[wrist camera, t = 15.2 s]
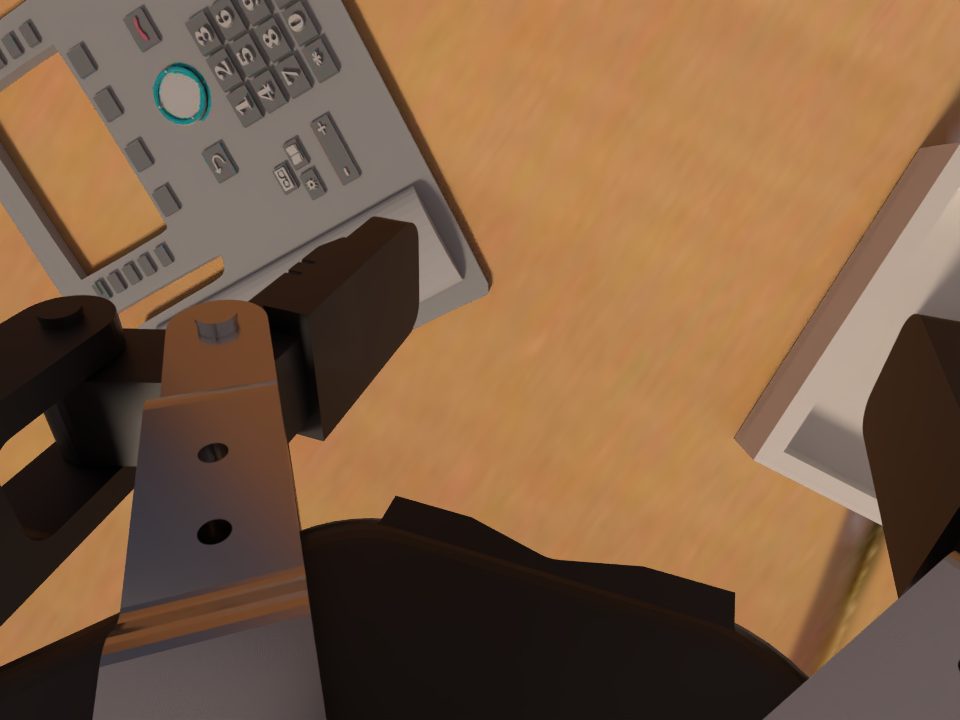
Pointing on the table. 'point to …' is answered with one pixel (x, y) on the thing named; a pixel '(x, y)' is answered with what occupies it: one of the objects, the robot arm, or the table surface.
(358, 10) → the table surface
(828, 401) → the tray
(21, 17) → the office telephone
